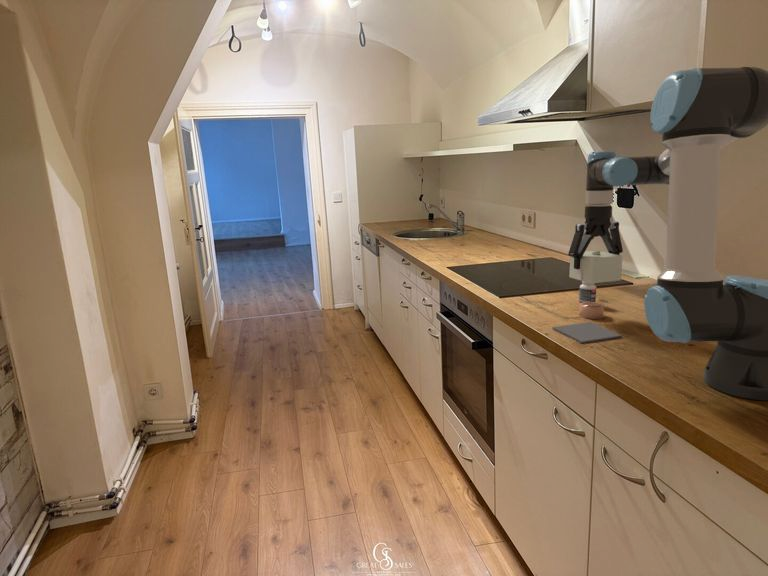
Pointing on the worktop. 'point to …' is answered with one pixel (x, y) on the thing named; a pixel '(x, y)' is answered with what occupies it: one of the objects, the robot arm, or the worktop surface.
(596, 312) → the bowl
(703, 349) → the worktop surface
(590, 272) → the cover
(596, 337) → the mat
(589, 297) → the pill bottle
